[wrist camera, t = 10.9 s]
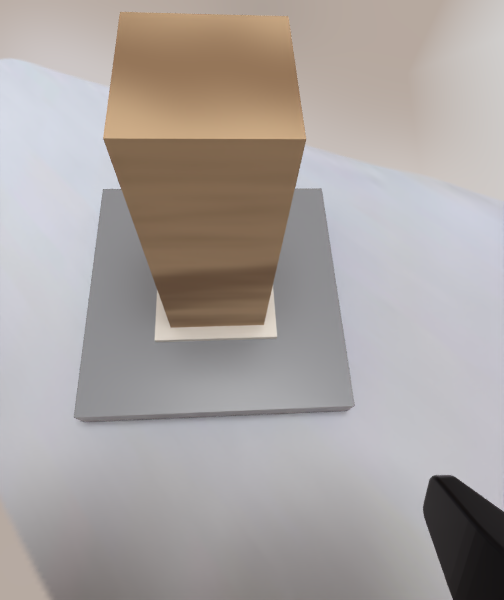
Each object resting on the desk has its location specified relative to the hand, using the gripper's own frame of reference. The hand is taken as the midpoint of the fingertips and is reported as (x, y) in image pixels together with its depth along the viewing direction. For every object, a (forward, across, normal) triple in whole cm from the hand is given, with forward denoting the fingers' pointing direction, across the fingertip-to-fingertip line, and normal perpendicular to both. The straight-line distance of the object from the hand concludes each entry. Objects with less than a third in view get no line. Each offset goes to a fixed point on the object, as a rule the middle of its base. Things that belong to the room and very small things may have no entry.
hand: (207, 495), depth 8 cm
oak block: (+16, 0, +1) cm, 16 cm away
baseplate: (+17, 0, +2) cm, 17 cm away
